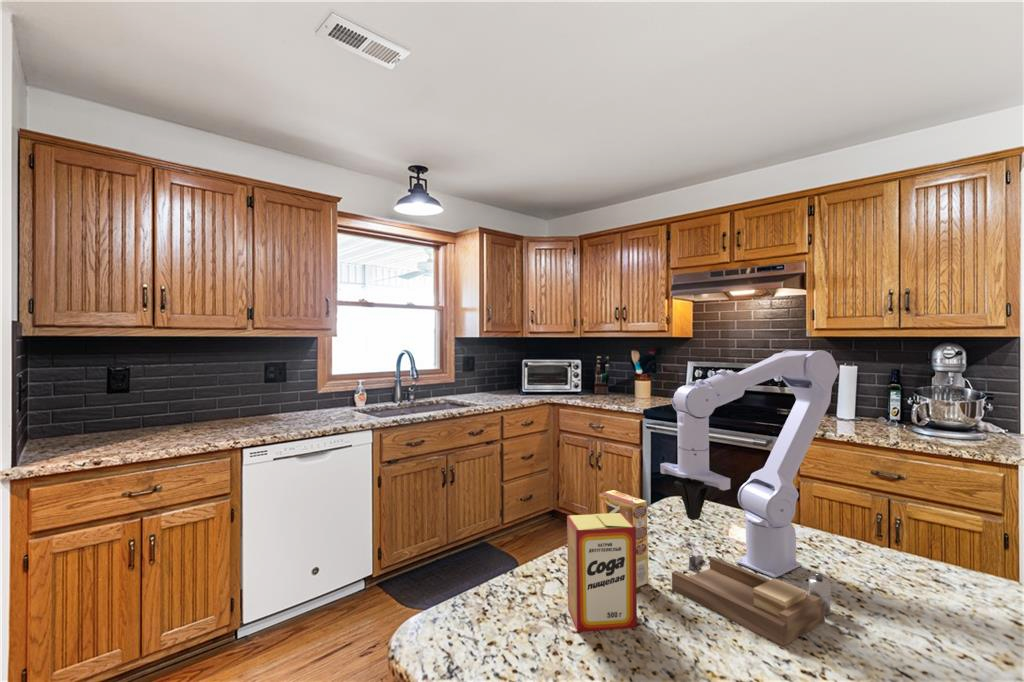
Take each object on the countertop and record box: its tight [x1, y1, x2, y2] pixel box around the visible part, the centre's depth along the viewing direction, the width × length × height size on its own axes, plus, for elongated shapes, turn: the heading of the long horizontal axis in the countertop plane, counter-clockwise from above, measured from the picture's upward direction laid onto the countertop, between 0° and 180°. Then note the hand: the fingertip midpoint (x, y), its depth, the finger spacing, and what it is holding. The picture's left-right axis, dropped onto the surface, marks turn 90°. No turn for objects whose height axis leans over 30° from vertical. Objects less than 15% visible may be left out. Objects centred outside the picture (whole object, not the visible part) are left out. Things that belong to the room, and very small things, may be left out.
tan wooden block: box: [753, 577, 808, 619], centre depth 78 cm, size 6×5×4 cm
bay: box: [671, 556, 826, 647], centre depth 83 cm, size 12×20×4 cm, turn 32°
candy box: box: [598, 489, 650, 589], centre depth 93 cm, size 9×4×15 cm, turn 33°
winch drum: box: [808, 572, 831, 617], centre depth 81 cm, size 3×3×6 cm
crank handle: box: [688, 554, 704, 572], centre depth 98 cm, size 6×1×3 cm, turn 142°
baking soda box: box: [566, 513, 638, 633], centre depth 79 cm, size 10×6×16 cm
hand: (693, 518), depth 95 cm, fingers closed
